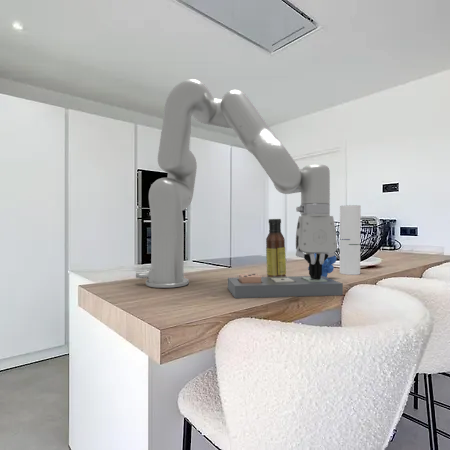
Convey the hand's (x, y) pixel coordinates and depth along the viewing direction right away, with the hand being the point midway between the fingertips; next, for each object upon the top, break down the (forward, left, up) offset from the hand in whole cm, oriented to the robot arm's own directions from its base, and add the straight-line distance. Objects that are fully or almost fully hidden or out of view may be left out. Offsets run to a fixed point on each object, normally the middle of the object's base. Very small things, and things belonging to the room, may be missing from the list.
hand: (315, 278), depth 87 cm
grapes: (+10, +18, -4) cm, 21 cm away
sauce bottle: (-5, +19, -4) cm, 20 cm away
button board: (-9, 0, -3) cm, 10 cm away
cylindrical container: (+26, +28, -4) cm, 38 cm away
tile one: (-9, 0, -3) cm, 10 cm away
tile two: (0, 0, -3) cm, 3 cm away
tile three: (-18, 0, -2) cm, 18 cm away
